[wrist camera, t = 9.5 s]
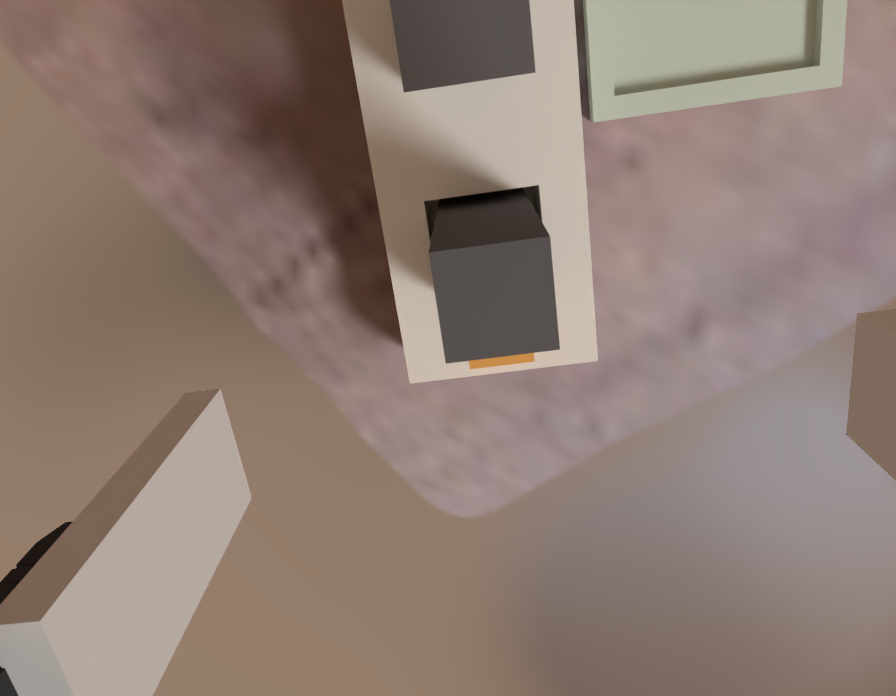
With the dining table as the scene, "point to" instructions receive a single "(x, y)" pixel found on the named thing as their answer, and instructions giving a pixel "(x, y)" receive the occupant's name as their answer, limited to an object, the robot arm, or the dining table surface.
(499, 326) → the plug
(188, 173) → the dining table surface
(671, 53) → the tray
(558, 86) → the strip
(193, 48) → the dining table surface
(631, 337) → the dining table surface
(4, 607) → the robot arm
